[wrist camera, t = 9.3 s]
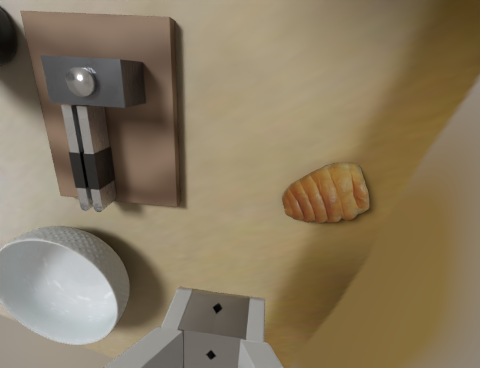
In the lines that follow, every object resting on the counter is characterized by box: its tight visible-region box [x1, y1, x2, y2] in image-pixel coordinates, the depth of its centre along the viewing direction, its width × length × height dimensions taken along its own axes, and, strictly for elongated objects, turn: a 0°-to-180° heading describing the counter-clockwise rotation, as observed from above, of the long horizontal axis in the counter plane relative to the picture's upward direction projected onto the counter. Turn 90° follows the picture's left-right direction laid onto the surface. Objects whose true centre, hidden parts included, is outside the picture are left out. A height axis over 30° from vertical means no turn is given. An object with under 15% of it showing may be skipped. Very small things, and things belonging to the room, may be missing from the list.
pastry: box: [282, 163, 369, 223], centre depth 30 cm, size 9×7×4 cm
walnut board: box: [21, 11, 181, 207], centre depth 30 cm, size 20×15×2 cm
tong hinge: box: [40, 55, 146, 108], centre depth 26 cm, size 4×7×5 cm, turn 87°
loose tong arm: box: [76, 105, 116, 212], centre depth 29 cm, size 12×1×3 cm, turn 177°
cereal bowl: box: [0, 226, 130, 345], centre depth 36 cm, size 17×17×7 cm
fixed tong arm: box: [61, 104, 93, 211], centre depth 30 cm, size 12×1×3 cm, turn 177°
